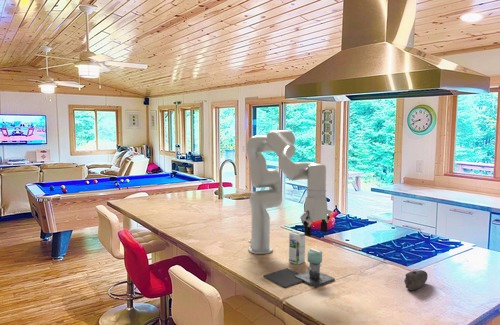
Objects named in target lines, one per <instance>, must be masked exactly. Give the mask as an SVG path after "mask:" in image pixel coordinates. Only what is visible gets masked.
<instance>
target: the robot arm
mask: <svg viewBox="0 0 500 325" xmlns="http://www.w3.org/2000/svg"><path fill="white" fill-rule="evenodd" d="M295 142H296V137H295V135H294V133H293V131H291V130H284V129H282V130H277V129H276V130H275V129H274V130H271V131H269V132H267V134H265V135H264V134H263V135H262V134H261V135H254V136H251V137H249V138H248V139H247V143H246V153H247V154H246V155H247V157H248V160H249V171H250V181H251V185H252V187H253V188H256V189H262V188H264V189H262V190H256V191H253V192H252V193H251V194H250V195H249V205H250V212H251V213H250V214H251V216H250V217H251V231H250V232H251V238H250V240H248V243H249V244H250V246H248V252H250V253H251V254H253V255H254V254H255V255H267V254H270V253H272V252H273V250H274V248H273V247H272V246H271V245H270V238H271V236H270V234H271V232H270V231H271V230H270V229H271V217H270V214H269V213H268V210H267V209H273V208H278V207H280V206H281V204H283V190H282V188H283V187H282V177H281V174H280V172H279V171H278V170H277V169H276V168H267V160H266V158H265V156H264V155H263V153H271V152H272V153H275V154H276V155H277V156H278V166H279V169H280V171H281V172H282V173H283V175H285V177H286V178H288V179H289V180H291V181H299V180H301V181H302V180H307V181H306V182H307V185H306V186H307V187H306V188H307V193H306V194H307V196H306V197H305V200H304V208H303V214H302V215H300V218H299V219H300V220H301V224H302V225H303V226H304V233H305V237H306V236H307V237H311V236H312V226H311V225H312V223H313V222H318V221H320V231H321V232H323V233H328V223H329V220H330V218H331V214H332V211H330V210H329V209H328V201H327V196H326V195H327V193H326V192H327V189H326V186H327V167H326V165H325V164H324V163H315V162H312V161H301V162H299V161H298V162H293V161H292V160H291V159H292V158H293V157H294V155H295V154H296V147H295ZM265 188H268V189H265Z"/></svg>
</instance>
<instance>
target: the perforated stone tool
mask: <svg viewBox="0 0 500 325" xmlns="http://www.w3.org/2000/svg"><path fill="white" fill-rule="evenodd" d="M427 280H428V272H427V271H425V270H423V269H422V270H421V269H420V270H418V269H417V270H413V271H409V272H407V273H405V278H404V281H403V282H404V285H405V288H406V289H407V290H409V291H411V292H413V291H416V290H419V289H420V288H421V287H423V286H424V285H425V283H426V282H427Z"/></svg>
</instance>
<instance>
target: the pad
mask: <svg viewBox="0 0 500 325" xmlns="http://www.w3.org/2000/svg"><path fill="white" fill-rule="evenodd" d="M298 274H300V272H296V271H294V270H293V269H290V268H288V267H286V268H283V269H279V270H277V271H273V272H270V273H267V274H263V275H262V277H263V278H265V279H267V280H269V281H271V282H272V283H275V284H276V285H278V286H279V287H282V288H283V289H287V288H290V287H293V286H294V285H298V284H301V283H304V282H303V280H300V279H298V278H296V277H294V276H295V275H298Z"/></svg>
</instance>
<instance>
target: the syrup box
mask: <svg viewBox="0 0 500 325" xmlns="http://www.w3.org/2000/svg"><path fill="white" fill-rule="evenodd" d="M288 235H289V236H288V237H289V238H288V239H289V240H288V262H289V263H290V264H291V263H292V264H293V265H294V264H295V265H298V266H299V265H300V264H303V263H305V262H306V235H305V232H302V231H298V230H292V231H291V232H289V234H288Z"/></svg>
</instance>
